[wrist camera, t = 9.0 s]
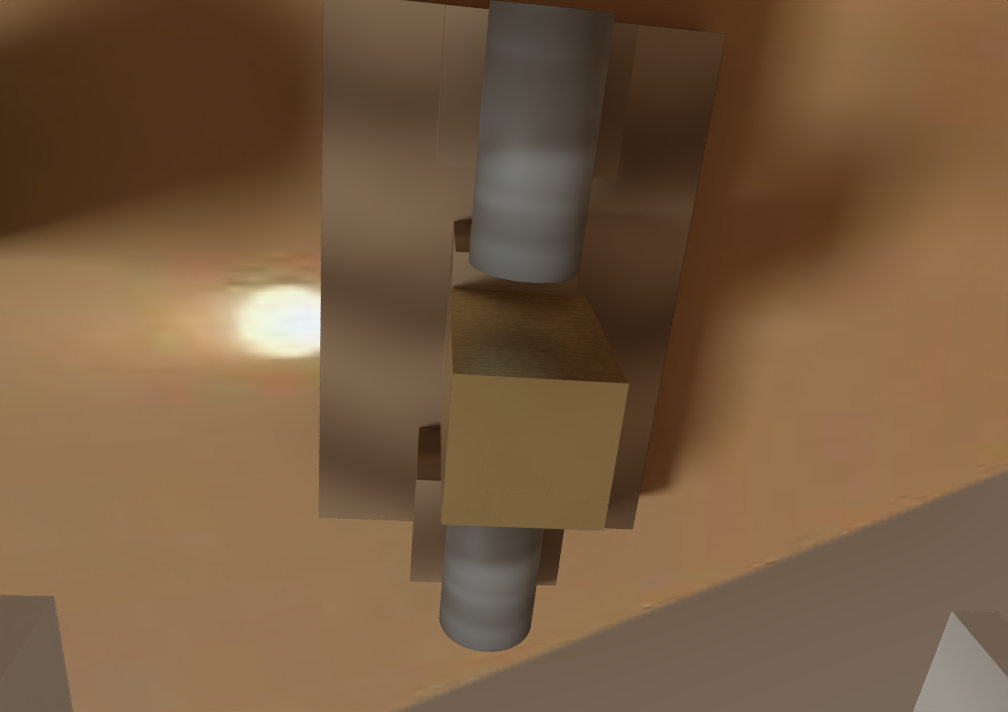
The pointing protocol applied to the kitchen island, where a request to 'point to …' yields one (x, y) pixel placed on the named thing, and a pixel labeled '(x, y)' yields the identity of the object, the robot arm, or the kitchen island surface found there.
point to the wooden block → (528, 412)
